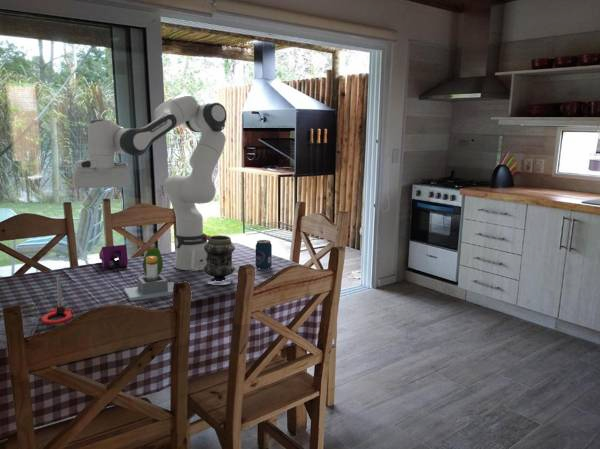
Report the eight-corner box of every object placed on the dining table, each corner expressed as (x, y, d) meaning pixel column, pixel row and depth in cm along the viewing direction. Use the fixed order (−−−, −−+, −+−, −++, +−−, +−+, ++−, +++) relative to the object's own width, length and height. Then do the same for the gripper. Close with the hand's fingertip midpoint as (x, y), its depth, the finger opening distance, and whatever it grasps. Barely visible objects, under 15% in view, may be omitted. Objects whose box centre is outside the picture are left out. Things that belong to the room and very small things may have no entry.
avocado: (166, 276, 196) (165, 247, 193) (148, 280, 191) (146, 250, 188) (157, 272, 202) (157, 244, 199) (139, 275, 196) (138, 246, 194)
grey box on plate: (173, 284, 186) (172, 271, 185) (181, 293, 176) (181, 279, 175) (124, 291, 177) (123, 278, 176) (130, 301, 168) (129, 286, 167)
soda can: (252, 268, 210) (252, 241, 208) (262, 265, 216) (262, 238, 213) (264, 271, 206) (265, 244, 204) (274, 268, 212) (275, 241, 210)
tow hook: (67, 325, 148) (76, 312, 156) (63, 285, 144) (72, 274, 153) (37, 326, 146) (48, 313, 155) (32, 285, 143) (44, 275, 152)
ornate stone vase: (239, 284, 188) (240, 239, 185) (210, 288, 182) (209, 242, 179) (227, 276, 199) (227, 233, 195) (199, 280, 192) (198, 235, 189)
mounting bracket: (100, 274, 216) (104, 266, 201) (98, 256, 218) (102, 246, 203) (122, 271, 221) (128, 264, 206) (120, 253, 223) (125, 244, 207)
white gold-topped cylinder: (156, 287, 179) (155, 255, 177) (159, 290, 176) (158, 258, 173) (145, 288, 177) (144, 256, 175) (148, 291, 174) (147, 259, 171)
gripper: (128, 162, 189) (129, 197, 192) (71, 162, 179) (73, 199, 181) (132, 163, 184) (133, 199, 186) (73, 163, 174) (75, 201, 176)
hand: (103, 199), depth 184 cm, fingers open, 8 cm apart
